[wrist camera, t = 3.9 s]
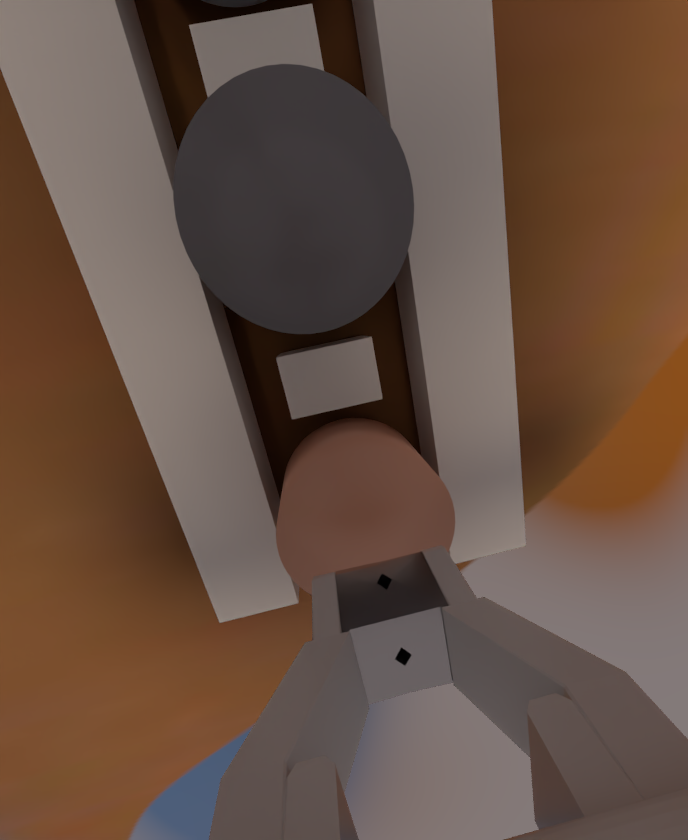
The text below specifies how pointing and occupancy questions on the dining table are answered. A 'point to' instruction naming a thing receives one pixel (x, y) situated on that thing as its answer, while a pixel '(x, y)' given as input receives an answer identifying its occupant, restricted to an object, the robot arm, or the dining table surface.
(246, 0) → the pale blue button
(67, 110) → the button board
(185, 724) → the dining table surface
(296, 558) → the terracotta button
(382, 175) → the charcoal button
